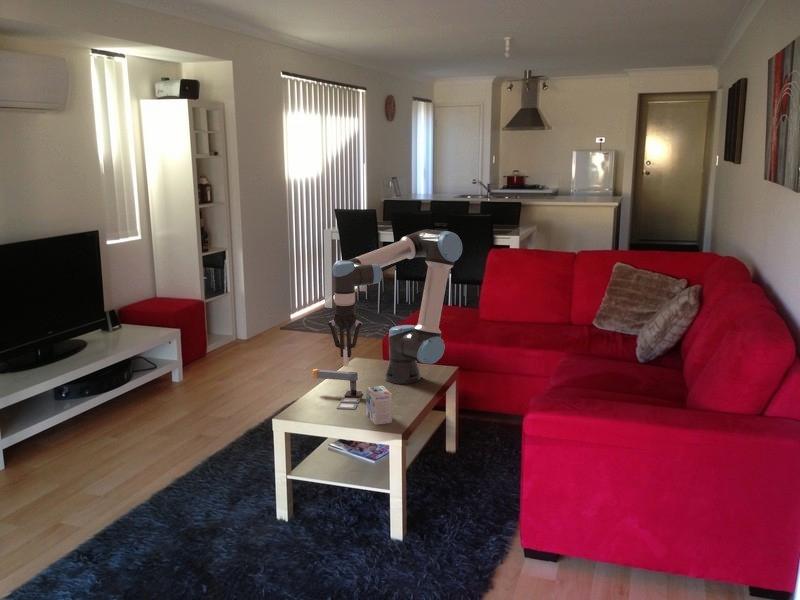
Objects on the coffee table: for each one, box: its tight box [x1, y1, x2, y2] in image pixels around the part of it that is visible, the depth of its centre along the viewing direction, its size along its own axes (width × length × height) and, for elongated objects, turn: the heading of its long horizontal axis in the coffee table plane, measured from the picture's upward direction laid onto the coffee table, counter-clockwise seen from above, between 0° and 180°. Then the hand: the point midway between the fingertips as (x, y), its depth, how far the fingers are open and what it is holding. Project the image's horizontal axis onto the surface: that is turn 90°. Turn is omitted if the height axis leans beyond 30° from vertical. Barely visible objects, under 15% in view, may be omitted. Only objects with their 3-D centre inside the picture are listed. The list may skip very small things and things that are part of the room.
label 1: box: [340, 397, 362, 404], centre depth 273 cm, size 7×5×1 cm
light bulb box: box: [365, 385, 393, 426], centre depth 253 cm, size 11×7×11 cm, turn 21°
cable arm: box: [312, 368, 359, 382], centre depth 280 cm, size 4×19×3 cm, turn 76°
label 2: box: [336, 403, 358, 411], centre depth 267 cm, size 7×5×1 cm
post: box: [344, 381, 363, 398], centre depth 279 cm, size 6×6×6 cm
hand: (346, 365), depth 263 cm, fingers closed
